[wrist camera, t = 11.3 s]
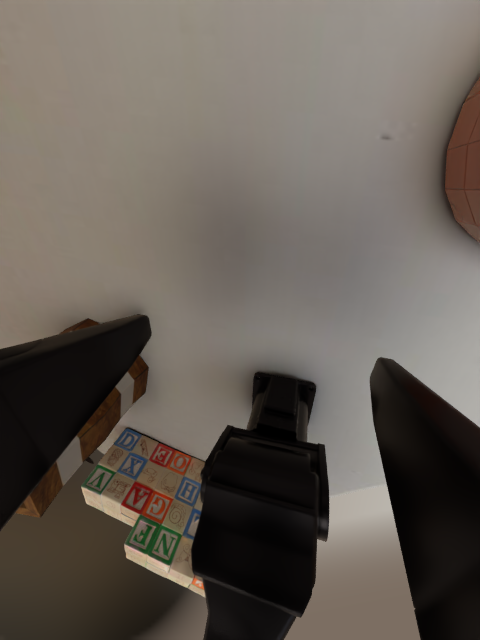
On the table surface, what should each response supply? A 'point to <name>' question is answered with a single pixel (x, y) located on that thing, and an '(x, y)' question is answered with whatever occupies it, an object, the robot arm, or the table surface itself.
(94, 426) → the mug
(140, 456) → the stack of blocks
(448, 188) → the bowl
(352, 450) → the table surface
